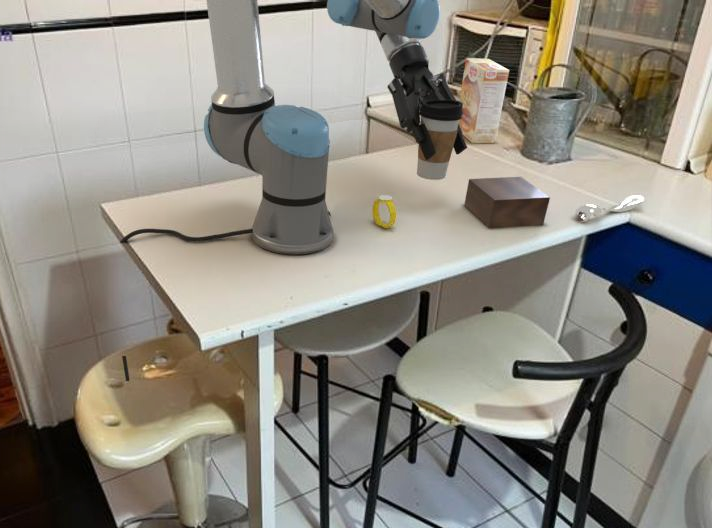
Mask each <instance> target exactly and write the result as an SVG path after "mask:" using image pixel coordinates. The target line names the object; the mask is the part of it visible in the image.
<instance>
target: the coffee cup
mask: <svg viewBox="0 0 712 528" xmlns="http://www.w3.org/2000/svg"><path fill="white" fill-rule="evenodd" d="M462 109H463V103H462V102H460V101H459V100H458V99H456V100H423V101H422V102H421V106H420V108H419V110H420V124H419V125H421V124H425V126H426V129H427V131H428V134H429V136H430V138H431V141H432V143H433V146H434V148H435V151H436V154H435V155H433V156H432V157H431V158H430V159H429V160H425V157H424V155H423V152H422V150H421V147H420V145H419V144H417V145H418V146H417V147H418V148H417V167H416V175H417V176H418V177H419V178H422V179H425V180H429V181H441V180H443V179H445V178H446V176H447V173H448V172H447V171H448V169H449V163H450V160H451V157H452V153H453V150H454V147H453V146H454V142H455V139H456V135H457V131H458V123H459V120H460V119H461V118H462V115H463V113H462Z"/></svg>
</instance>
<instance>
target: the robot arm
mask: <svg viewBox="0 0 712 528" xmlns="http://www.w3.org/2000/svg"><path fill="white" fill-rule="evenodd" d="M206 7H207V14H208V15H207V16H208V22H209V23H208V24H209V30H210V37H211V38H210V39H211V45H212V53H213V61H214V67H215V68H214V69H215V76H216V83H217V88H216V89H215V90H214V92H213V93H212V95H211V97H210V98H211V99H210V102H211V104H210V105H209V107H208V109H207V111H208V113H207V114H206V115H205V116H204V121H203V131H204V136H205V139H206V143H207V144H208V146H209V147H210V150H212V151H213V153H215V154H216V155H217V156H219V157H220V158H222V159H223V160H225V161H227V162H228V163H230V164H233V165H238V166H240V167H242V168H245V169H247V170H249V171H252V172H254V173H256V174H258V175H260V176H262V177H261V178H262V186H261V187H262V193H261V194H262V195H261V196H262V197H261V200H260V203H259V207H258V209H257V212H256V215H255V218H254V220H253V224H252V228H248V229H241V230H234V231H229V232H223V233H219V234H218V233H216V234H211V235H206V236H188V235H186V234H183V233H181V232H179V231H178V230H177V231H176V230H173V229H164V228H163V229H162V228H140V229H137V230H133V231H131V232H129V233H127V234H126V235H125V236H124V237H123V238H122V239H121V240H120V241H119V243H120V244H125V243H126V242H127V241H128V240H130V239H131V238H133V237H135V236H137V235H142V234H164V235H165V234H167V235H173V236H176V237H178V238H180V239H181V240H184V241H187V242H206V241H207V242H208V241H211V240H218V239H219V240H220V239H225V238H229V237H236V236H240V235H246V234H247V235H248V234H252V235H251V237H252V241H253V242H254V243H255V245H257V246H259V247H261V248H262V249H264V250H266V251H269V252H273V253H276V254H282V255H307V254H312V253H317V252H320V251H322V250H325V249H326V248H328V247H329V246H331V244H332V242H333V240H334V239H333V238H334V227H333V223H332V220H331V217H332V214H331V212H330V211H329V210H328V206H327V201H326V195H327V194H326V193H327V181H328V170H329V169H328V168H329V154H330V147H331V145H330V144H331V140H330V127H329V123H328V121H327V119H326V118H325V116H323V115H322V114H320V113H319V112H317V111H315V110H313V109H311V108H308V107H304V106H297V105H294V104H293V105H292V104H278V105H276V103H275V102H276V101H275V92H274V89H272V88H271V86H269V85H268V84H267V83H266V82H265V81H266V80H265V70H264V59H263V47H262V37H261V25H260V13H259V2H258V0H206ZM326 10H327V11H326V12H327V14H328V17H329V18H330V20H331V21H332V22H333V23H335V24H338V25H341V26H343V27H351V28H357V29H364V30H367V31H373V32H375V34H376V37H377V38H378V41H379V43H380V45H381V48H382V51H383V53H384V55H385V58H386V61H388V62H389V63H388V64H389V65H388V66H389V68H390V70H391V73H392V75H393V79H392V80H391V81H390V82H389V83H388V84H387V86H386V87H387V89H388V91H389V93H390V95H391V97H392V100H393V104H394V107H395V112H396V115H397V118H398V122H399V123H398V124H399V126H400V128H401V129H403V130H404V129H405V130H406V131H407V133H411V134H412V135H413V138H414V141H415V142H416V144H417V145H418V144H419V145H420V147H421V150H422V152H423V155H424V157H425V160H429V159H430V158H431V157H432V156H433V155H435V154H436V151H435V148H434V146H433V143H432V141H431V138H430V136H429V134H428V131H427V129H426V126H425V124H421V115H420V98H421V97H422V98H423V99H424V101H426V100H457V98H456V97H455V95H454V94H453V92H452V90H451V88H450V86H449V85H448V83H447V78H446V74H444V73H440V74H439V75H435V74H433V72H432V71H431V70H430V68H429V66H430V65H429V62H430V60H429V57H428V55H427V52H426V51H425V48H424V46H423V44H422V40H423V39H427V38H429V37H430V36H432V35H433V34H434V32H435V31H436V28H437V26H438V24H439V22H440V18H441V6H440V2H439V0H327V3H326ZM462 113H463V111H462ZM420 124H421V125H420ZM466 149H468V145H467V143H466V141H465V138H464V135H463V133H462V130H461V128H460V125H459V123H458V131H457V135H456V139H455V142H454V146H453V150H454V152H455V154H456V155H461V154H462V152H464V151H466ZM121 359H122V365H123V371H124V372H123V373H124V377H125V378H124V379H125V382H126V381H129V380H130V373H129V367H128V361H127V355H122V356H121Z"/></svg>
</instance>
